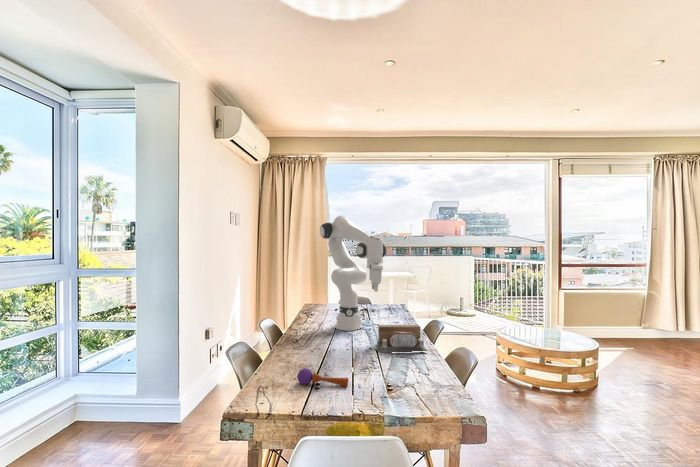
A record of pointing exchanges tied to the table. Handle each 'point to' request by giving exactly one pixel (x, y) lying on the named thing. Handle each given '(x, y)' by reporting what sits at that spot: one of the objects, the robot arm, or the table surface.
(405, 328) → the cabinet
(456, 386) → the table surface
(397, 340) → the tin
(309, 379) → the kendama
